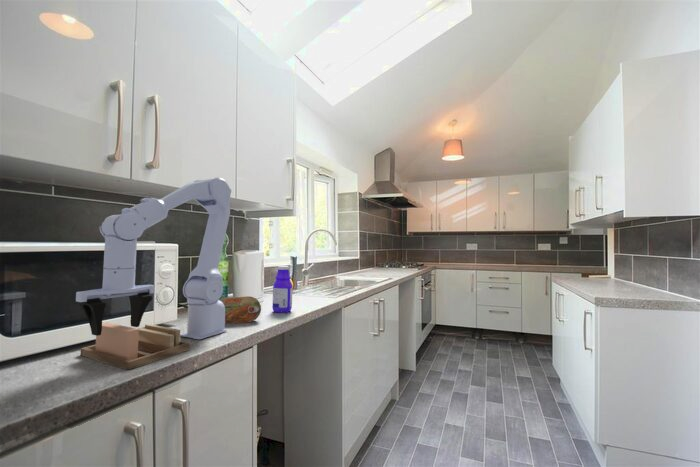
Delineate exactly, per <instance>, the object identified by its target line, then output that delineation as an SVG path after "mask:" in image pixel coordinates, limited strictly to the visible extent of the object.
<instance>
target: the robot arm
mask: <svg viewBox="0 0 700 467" xmlns="http://www.w3.org/2000/svg"><path fill="white" fill-rule="evenodd" d="M231 194H232V189H231V188H230V186H229V184H228V182H227V181H226V180H225V179H224V178H222V177H214V178H209V179H208V178H207V179H198V180H197V179H196V180H194V181H193V182H188V183H186V184H185V185H183V186H181V187H179V188H177V189H176V190H173V191H172V192H170V193H169V194H167V195H165V196H163V197H161V198H160V199H158V198H155V197H151V198H150V197H144V198H141V199H140V200H139V201H140V203H138V204H136V205H134V206H132V207H130V208H129V207H124V208H122V209H121V214H112V215H109V216H107V217H105V219H104V221H102V223H101V226H99V228H98V229H99V232H100V234H101V235H102V237H103V239H104V248H103V249H104V251H103V253H104V254H103V267H102V269H103V272H102V287H101V288H96V289H90V290H89V289H88V290H83V291H82V290H81V291H76V293H75V302H76V303H77V302H78V303H79V307H81V309H82V311H83V313H84V314H85V317H86V319H87V321H88V323H89V326H90V327H89V328H90V331H91V335H93V336H95V337H96V336H98V335H101V332H102V323H103V318H104V312H105V309H106V305H107V303H105V302H102V300H106V299H112V298H113V299H115V298H122V297H128V298H129V305H130V327H132V328H140V325H141V322H142V319H143V316H144V314H145V311H146V309H147V308H148V305H149V304H150V303H151V301H152V300H153V294H155V285H154V284H142V285H141V284H139V285H136V269H137V268H136V266H137V242H138V238H140V237H141V236H142V235H143V233H144V231H145V230H147V229H149V228H150V227H152V226H154V225H156V224H158V223H159V222H161V221H163V220H165V219H167V217H168V213H169V211H170V210H173V209H175V208H177V207H179V206H181V205H183V204H185V203H186V202H188V201H191V200H194V201H195V202H197V203H198V204H199V205H200V206H201V207H203V209H204V210H206V212H207V213H208V218H207V223H206V227H205V232H204V235H203V240H202V242H201V244H202V245H201V249H200V253H199V255H198V261H197V263H196V264H197V265H196V266H195V267H194V268H193V269H192V270H191V272H189V275H188V277H187V280H186V281H185V282H184V284H183V287H182V294H183V296H184V298H186V302H187V303H188V304H187V325H186V328H187V329H186V331H185V332H180V337H184V338H189V339H193V340H202V339H205V338H210V337H213V336H215V335H219V334H222V333H224V332H227V330H228V329H227V328H226V324H225V306H224V304H223V303H222V302H221V301H219V299H221V298H222V295H223V292H224V287H223V279H224V278H223V277H224V276H223V275H222V273H221V272H220V271H219V266H220V261H221V260H220V259H221V257H222V251H223V246H224V242H225V237H226V234H227V228H228V224H229V220H230V216H231V206H230V205H231V204H230V198H231Z"/></svg>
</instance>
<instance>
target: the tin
mask: <svg viewBox="0 0 700 467" xmlns="http://www.w3.org/2000/svg"><path fill="white" fill-rule="evenodd" d="M219 301H221V302H222V303H223V304H224V306H225V325H231V324H246V323H247V324H248V323H252V322H254V321H255V320H257V319H258V318H259V317H260V315H261V310H262V306H261V302H260V301H259V300H258V299H257V298H256V297H254V296H229V297H228V296H227V297H226V296H225V297H220V298H219Z"/></svg>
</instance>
